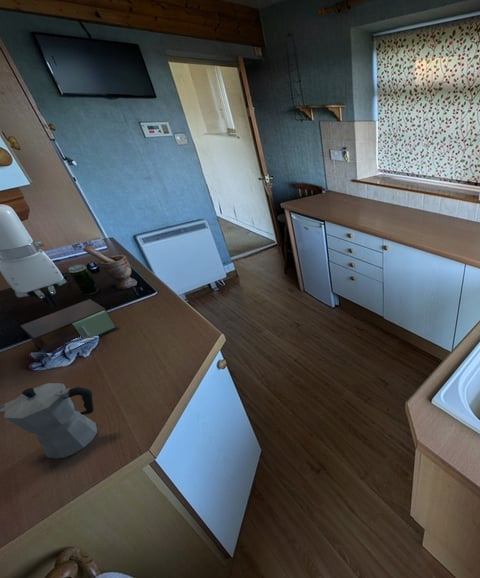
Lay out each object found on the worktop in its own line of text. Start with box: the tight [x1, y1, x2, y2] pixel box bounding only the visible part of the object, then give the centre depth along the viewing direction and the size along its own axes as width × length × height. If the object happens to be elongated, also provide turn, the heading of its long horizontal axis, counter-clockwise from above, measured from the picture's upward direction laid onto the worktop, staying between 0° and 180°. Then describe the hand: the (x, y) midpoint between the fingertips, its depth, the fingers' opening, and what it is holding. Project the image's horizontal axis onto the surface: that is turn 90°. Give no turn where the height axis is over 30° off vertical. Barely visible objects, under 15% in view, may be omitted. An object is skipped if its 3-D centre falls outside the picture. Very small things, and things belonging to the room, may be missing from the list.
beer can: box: [68, 264, 100, 296], centre depth 122 cm, size 5×5×12 cm
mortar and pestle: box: [82, 245, 138, 290], centre depth 124 cm, size 12×9×20 cm
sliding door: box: [72, 310, 116, 339], centre depth 100 cm, size 9×2×7 cm, turn 151°
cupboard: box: [20, 298, 120, 353], centre depth 99 cm, size 18×14×8 cm
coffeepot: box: [0, 382, 98, 460], centre depth 66 cm, size 15×9×18 cm, turn 111°
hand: (54, 305), depth 90 cm, fingers closed
